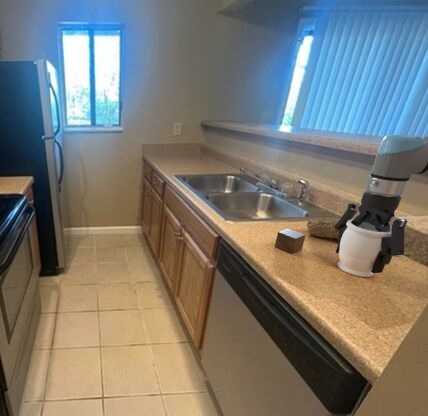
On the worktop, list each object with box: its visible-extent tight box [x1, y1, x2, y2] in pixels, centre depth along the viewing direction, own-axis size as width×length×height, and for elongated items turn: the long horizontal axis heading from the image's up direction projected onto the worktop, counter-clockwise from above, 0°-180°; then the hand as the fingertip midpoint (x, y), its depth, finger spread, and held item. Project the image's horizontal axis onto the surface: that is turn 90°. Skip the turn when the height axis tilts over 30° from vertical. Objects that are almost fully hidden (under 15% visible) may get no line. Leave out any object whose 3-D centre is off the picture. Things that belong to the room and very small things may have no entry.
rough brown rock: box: [306, 218, 340, 240], centre depth 104 cm, size 13×8×20 cm
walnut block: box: [274, 228, 307, 255], centre depth 96 cm, size 6×6×6 cm
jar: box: [336, 218, 392, 278], centre depth 82 cm, size 11×10×15 cm
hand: (357, 261), depth 84 cm, fingers closed on jar, 10 cm apart
